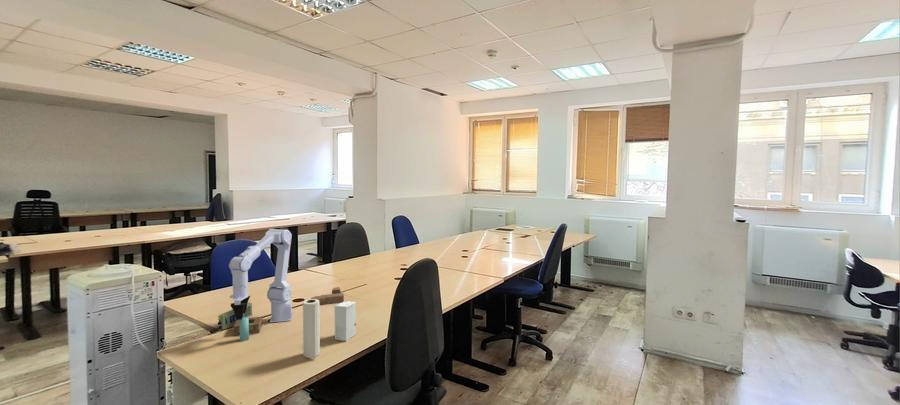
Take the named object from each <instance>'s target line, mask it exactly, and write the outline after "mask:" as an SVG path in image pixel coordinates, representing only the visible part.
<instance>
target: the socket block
mask: <svg viewBox="0 0 900 405" xmlns="http://www.w3.org/2000/svg"><path fill="white" fill-rule="evenodd" d="M248 318H249V335H254V334H260V332H261V330H262V326H263V316H255V317H252V316H251V317H248ZM233 336H234V337H235V336H240V320H237V322H236V323H235V324H233Z"/></svg>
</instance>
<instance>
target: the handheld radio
mask: <svg viewBox="0 0 900 405" xmlns="http://www.w3.org/2000/svg"><path fill="white" fill-rule="evenodd" d="M252 316H253V304H252V302H248V303H247V308H246V313H244V314H243V317H248V318H251V317H252ZM217 317H218V318H217V320H218V322H217V325H218V327H215V328H213V329H210V330H209V333H210V334H214V333H215V332H217V331H219V330H222V331H224V330H225V329H228V328H229V327H231V326H234V325H235V323H236V322H237V320H236V317H235V314H234V311H233V309H231V310H228V311H226V312H224V313H221V314H219V315H217ZM243 317H242V318H243Z"/></svg>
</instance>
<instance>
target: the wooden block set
mask: <svg viewBox="0 0 900 405" xmlns="http://www.w3.org/2000/svg"><path fill="white" fill-rule="evenodd" d="M310 299H317V300H319V306H321V305H322V306H323V305H334V304H336V305H337V304H339V303H342V302H344V301H345V294H344V292H341V288H340V287H339V286H337V287H333V288H332V290H331V293H329V294H328V293H327V294H321V295H318V296H317V295H315V296H313V297H311V298H310Z"/></svg>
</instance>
